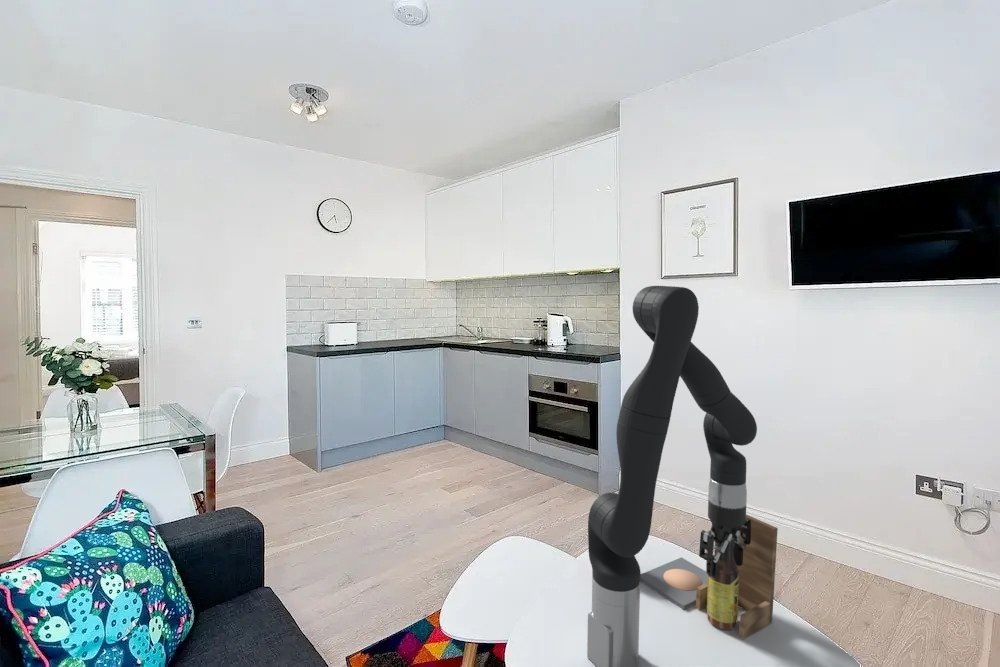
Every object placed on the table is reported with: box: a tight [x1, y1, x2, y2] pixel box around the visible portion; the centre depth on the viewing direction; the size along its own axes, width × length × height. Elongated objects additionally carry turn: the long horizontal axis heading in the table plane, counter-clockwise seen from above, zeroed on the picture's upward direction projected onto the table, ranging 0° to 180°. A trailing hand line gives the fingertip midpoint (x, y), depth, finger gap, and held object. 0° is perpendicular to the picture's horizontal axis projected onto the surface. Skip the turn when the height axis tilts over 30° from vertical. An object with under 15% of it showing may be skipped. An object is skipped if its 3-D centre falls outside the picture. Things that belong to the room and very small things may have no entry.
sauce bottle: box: [706, 538, 739, 631], centre depth 111 cm, size 6×6×20 cm
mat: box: [640, 557, 708, 610], centre depth 126 cm, size 16×14×1 cm
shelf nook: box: [695, 514, 779, 640], centre depth 113 cm, size 10×12×22 cm
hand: (724, 569), depth 111 cm, fingers open, 8 cm apart
